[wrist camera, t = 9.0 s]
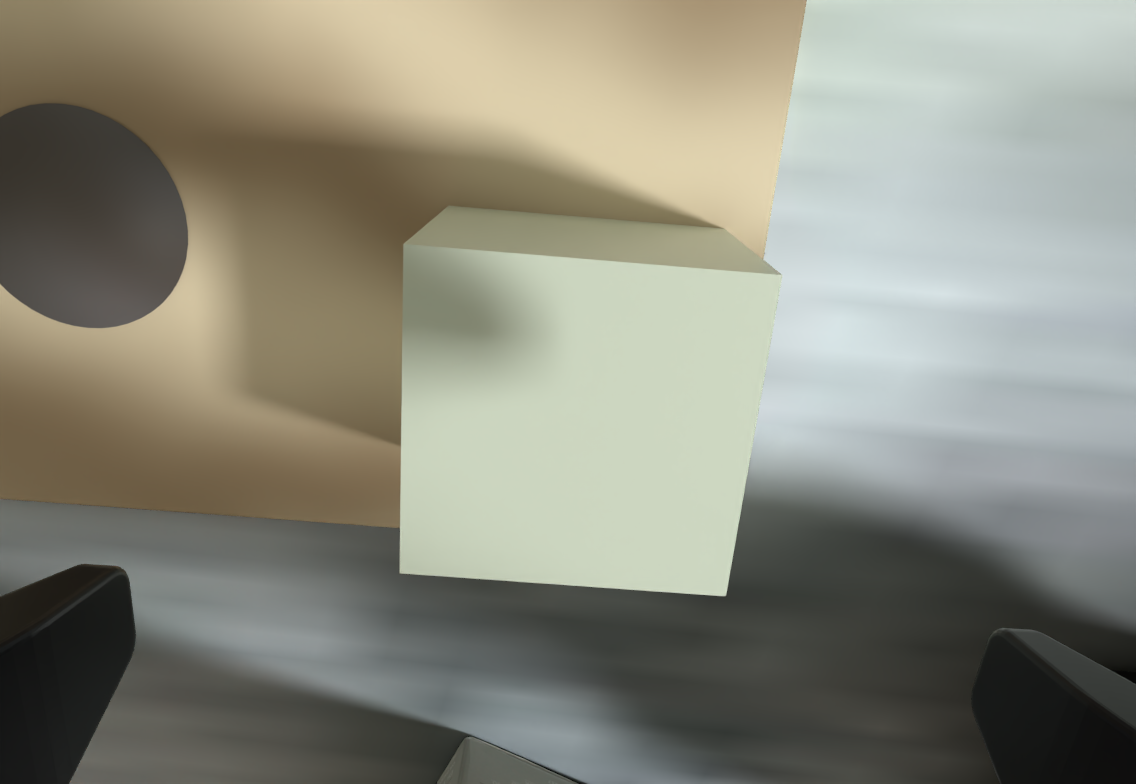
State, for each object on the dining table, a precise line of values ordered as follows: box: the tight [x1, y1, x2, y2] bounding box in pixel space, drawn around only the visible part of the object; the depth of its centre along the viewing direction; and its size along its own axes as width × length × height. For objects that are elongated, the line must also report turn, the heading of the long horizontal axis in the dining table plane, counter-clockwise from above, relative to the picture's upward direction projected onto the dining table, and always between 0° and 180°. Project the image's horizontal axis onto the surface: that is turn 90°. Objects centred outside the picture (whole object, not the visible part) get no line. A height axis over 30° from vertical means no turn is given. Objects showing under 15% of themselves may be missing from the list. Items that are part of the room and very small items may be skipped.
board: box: [0, 0, 807, 528], centre depth 17 cm, size 16×18×1 cm
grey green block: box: [400, 206, 782, 596], centre depth 16 cm, size 6×6×5 cm
